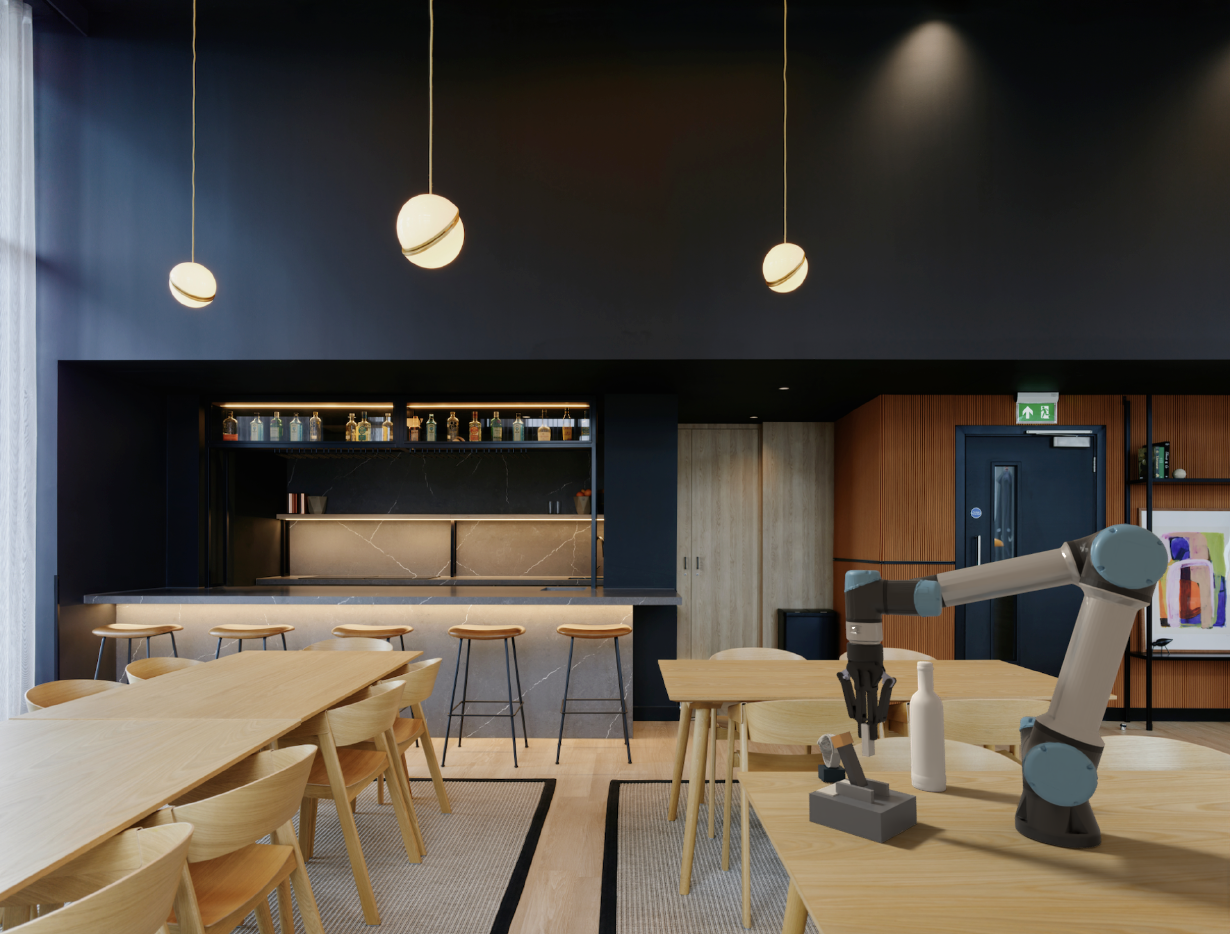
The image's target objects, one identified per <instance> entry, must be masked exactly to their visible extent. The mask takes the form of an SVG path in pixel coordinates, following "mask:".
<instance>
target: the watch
mask: <svg viewBox="0 0 1230 934" xmlns="http://www.w3.org/2000/svg"><path fill="white" fill-rule="evenodd" d="M836 735H837V734H836V733H835V734H833V733H825V734H822V735H821V736H820V737H819V738H818V740H817V741H816V745H818V746H819V750H820V753H821V754H822V759H823V762H824V764H817V775H818V777H817V778H819V780H821V781H822V782H823V783H826V784H827V783H832V784H834V783H836V782H838V781H842V780H844V779H847V777H846V776H847V774H846V771H845V769H844V766H843V765H840V764H841V758H840V755H839V753H838V750H837V748H834V745H833V743H832V740H831V737H833V736H836Z"/></svg>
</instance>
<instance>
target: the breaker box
mask: <svg viewBox="0 0 1230 934" xmlns="http://www.w3.org/2000/svg"><path fill="white" fill-rule="evenodd" d="M865 778H866V780H867V783H868V785H867V786H865V787H859V786H855V785H851V784H850V782H849V779H848V778H846V779H844V780H842V781H838V782H836V783H832V784H829V785H826V786H824V787H822V788H819V789H817V790H815V791H814V790H813V791H811V792H810V793H808V803H809V806H808V807H809V809H808V810H809V811H808V812H809V818H808V819H809V822H811V823H815V824H818V825H820V826H825V827H827V828H828V827H829V828H831V829H835V830H837V831H840V832H844V833H847V834H851V835H854V836H857V837H859V838H860V837H861V838H863V839H866V840H869V841H873V842H875V843H876V842H877V843H879V844H883V843H885V842H886V841H888V840H890V839H893V837H896V836H897V835H899V834H901V833H902V832H904V831H906V830H908V829H910V828H912V827H913V826H915V825H917V824H918V813H917V812H918V811H917V795H913V794H910V793H906V792H902V791H897V790H894V789H890V783H887V782H884V781H880V780H876V779H873V778H872V779H871V778H868V777H865Z"/></svg>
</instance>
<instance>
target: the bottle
mask: <svg viewBox="0 0 1230 934" xmlns="http://www.w3.org/2000/svg"><path fill="white" fill-rule="evenodd" d="M916 663H917V664H916V665H917V666H916V670H917V691H915V692H914V693H913V694H912V696H911V697H910V702H909V728H910V729H909V730H910V731H909V732H910V737H909V738H910V764H911V766H910V768H911V770H910V780H911V785H912V787H914V788H915V789H917V790H920V791H925V792H930V793H931V792H932V793H941V792H944V791H946V790H947V774H946V748H945V747H946V746H945V744H946V743H945V719H944V717H945V716H944V703H943V701H942V699H941V697H940V696H939V695H938V694H937V693H936V692H935V690H934V686H935V685H934V670H935V668H934V663H933V662H931V661H927V660H926V661H925V660H924V661H923V660H921V661H920V660H918V661H917V662H916Z"/></svg>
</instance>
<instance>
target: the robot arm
mask: <svg viewBox="0 0 1230 934" xmlns="http://www.w3.org/2000/svg"><path fill="white" fill-rule="evenodd" d="M1168 555H1169V554H1168V550H1167V548H1166V546H1165V544H1164V542H1163V541H1162V540H1161V538H1159V537H1158V536H1157V535H1156V534H1155V533H1154V532H1153V531H1150V530H1149V529H1146V528H1145V527H1141V526H1139V525H1137V524H1135V525H1134V524H1129V523H1120V524H1119V523H1117V524H1113V525H1110V526H1108V527H1105V528H1103V529H1101V530H1098V531H1096V532H1094V533H1092V534H1090V535H1087V536H1084V537H1081V538H1077V539H1073V540H1068V541H1064V542H1063V544H1062V546H1061V547H1059V548H1054V549H1050V550H1045V551H1041V552H1034V553H1032V554H1031V553H1030V554H1025V555H1020V556H1017V557H1013V558H1007V559H1003V560H998V561H994V562H988V563H987V562H986V563H984V564H979V565H974V566H970V567H964V568H960V569H955V570H950V571H945V572H941V573H936V574H931V575H926V576H920V577H914V578H911V579H884V578H883V579H882V576H881V572H880V571H879V570H875V569H874V570H871V569H870V570H867V569H865V570H863V569H852V570H851V569H850V570H847V571H846V573H845V579H844V590H843V591H844V602H845V605H844V607H845V608H844V609H845V629H846V630H845V634H846V635H845V636H846V639H847V641H848V642H846V659H847V664H846V665H845V668H844V669H843V670H842V671H838V672H836V677H837V679H838V681H839V683H840V685H841V689H842V690H841V691H842V693H843V697H844V698H843V699H844V702H845V706H846V707H845V708H846V711H847V713H848V714H847V715H848V717H849V719H853V720H854V721H855V722H857V736H858V738H859V739H861V754H862V755H861V756H863V757H867V758H870V757H872V756H875V755H876V747H875V745H876V744H875V741H877V740H878V737H879V735H878V734H879V731H878V730H879V729H878V728H879V727H878V725H879V724H882V723H885V722H887V720H888V719H887V717H888V712H889V707H890V704H891V703H890V702H891V697H892V692H893V688H894V687H895V685H896V683H897V678H896V677H894V676H891V675H890V674H889V673H887V671H886V668H885V666H884V658H885V657H884V644H882V643H881V642H883V640H884V634H883V616H884V615H886V616H889V615H891V616H909V617H922V618H926V617H939V616H941V615H942V612H943V610H942V609H944V608H949V607H953V606H959V605H965V604H971V603H975V602H980V601H981V602H982V601H987V600H991V599H996V598H997V599H998V598H1003V597H1007V596H1013V595H1018V594H1019V595H1020V594H1023V593H1024V594H1025V593H1028V592H1034V591H1039V590H1044V589H1051V588H1057V587H1061V586H1067V585H1071V584H1072V585H1075V586H1077V587H1079V588H1080V589H1081V590H1082V591H1083V594H1084V596H1083V600H1082V602H1081V605H1080V608H1079V612H1078V615H1077V618H1076V620H1075V624H1074V627H1073V631H1072V634H1071V637H1070V641H1069V644H1068V646H1067V650H1066V652H1065V656H1064V660H1063V662H1062V665H1061V669H1060V671H1059V675H1058V678H1057V680H1056V684H1055V686H1054V687H1055V688H1054V691H1053V694H1052V696H1051V701H1050V703H1049V706H1048V709H1047V711H1046V712H1045V713H1042V714H1039V715H1037V716H1022V718H1021V719H1020V722H1019V723H1020V724H1019V725H1020V726H1019V728H1018V730H1019V733H1020V753H1021V756H1020V757H1021V776H1022V792H1021V795H1020V798H1019V801H1018V805H1017V808H1016V810H1015V814H1014V827H1015V830H1016V831H1017V832H1018V833H1020V834H1022V835H1023V836H1025V837H1027V838H1030V839H1033V840H1034V841H1037V842H1040V843H1044V844H1048V845H1053V846H1057V847H1064V848H1071V849H1072V848H1073V849H1090V848H1091V849H1092V848H1095V847H1098V846H1100V845H1101V843H1102V837H1101V835H1102V834H1101V833H1102V832H1101V829H1100V826H1099V824H1098V821H1097V819H1096V816H1095V813H1094V811H1093V808H1092V806H1091V803H1090V799H1091V798H1092V797H1093V796H1094V794H1095V793H1096V792H1095V791H1097V788H1098V785H1099V782H1098V779H1099V776H1098V768H1099V765H1100V762H1101V758H1102V755H1103V752H1104V749H1105V746H1106V743H1105V740H1104V739H1103V738H1102V736H1101V735H1100V734H1101V733H1100V728H1101V725H1102V721H1103V718H1104V716H1105V713H1106V709H1107V706H1108V704H1109V701H1110V697H1111V693H1112V691H1113V688H1114V684H1115V682H1116V679H1117V675H1118V672H1119V669H1120V666H1121V663H1122V660H1123V657H1124V654H1125V651H1126V648H1127V645H1128V641H1129V637H1130V635H1131V633H1132V632H1131V631H1132V629H1133V625H1134V622H1135V619H1136V616H1137V613H1138V612H1139V610H1141V609H1143V608H1147V607H1148V606H1150V605H1151V602H1152V599H1153V597H1154V595H1155V594H1154V593H1155V590H1156V587H1157V584H1158V582H1159V581H1160V580H1161V579H1162V578H1163V576H1164V574H1166V571H1167V569H1168V565H1169V556H1168ZM851 679H852V680H851ZM852 681H853V682H852ZM880 682H881V683H882V686H881V689H880V695H879V699H878V690H879V683H880ZM854 690H855V692H854ZM878 700H879V701H878Z"/></svg>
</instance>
